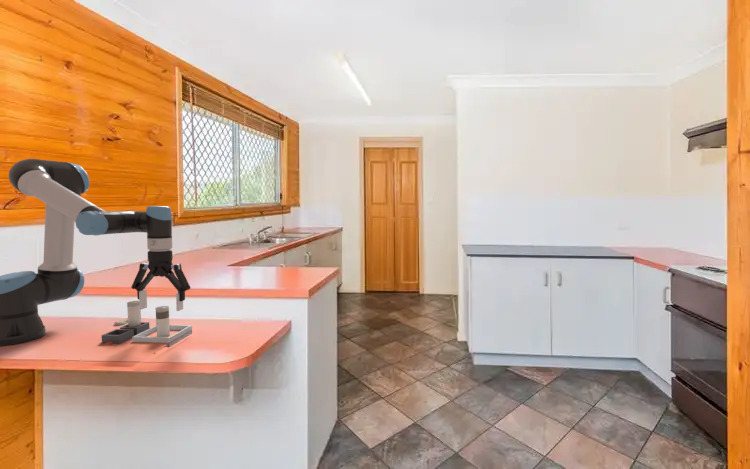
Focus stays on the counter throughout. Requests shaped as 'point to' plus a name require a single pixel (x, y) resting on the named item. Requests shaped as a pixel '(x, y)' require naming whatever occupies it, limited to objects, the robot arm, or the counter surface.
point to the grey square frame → (183, 328)
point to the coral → (121, 322)
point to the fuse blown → (162, 321)
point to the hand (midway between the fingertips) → (161, 309)
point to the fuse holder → (123, 333)
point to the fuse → (134, 314)
